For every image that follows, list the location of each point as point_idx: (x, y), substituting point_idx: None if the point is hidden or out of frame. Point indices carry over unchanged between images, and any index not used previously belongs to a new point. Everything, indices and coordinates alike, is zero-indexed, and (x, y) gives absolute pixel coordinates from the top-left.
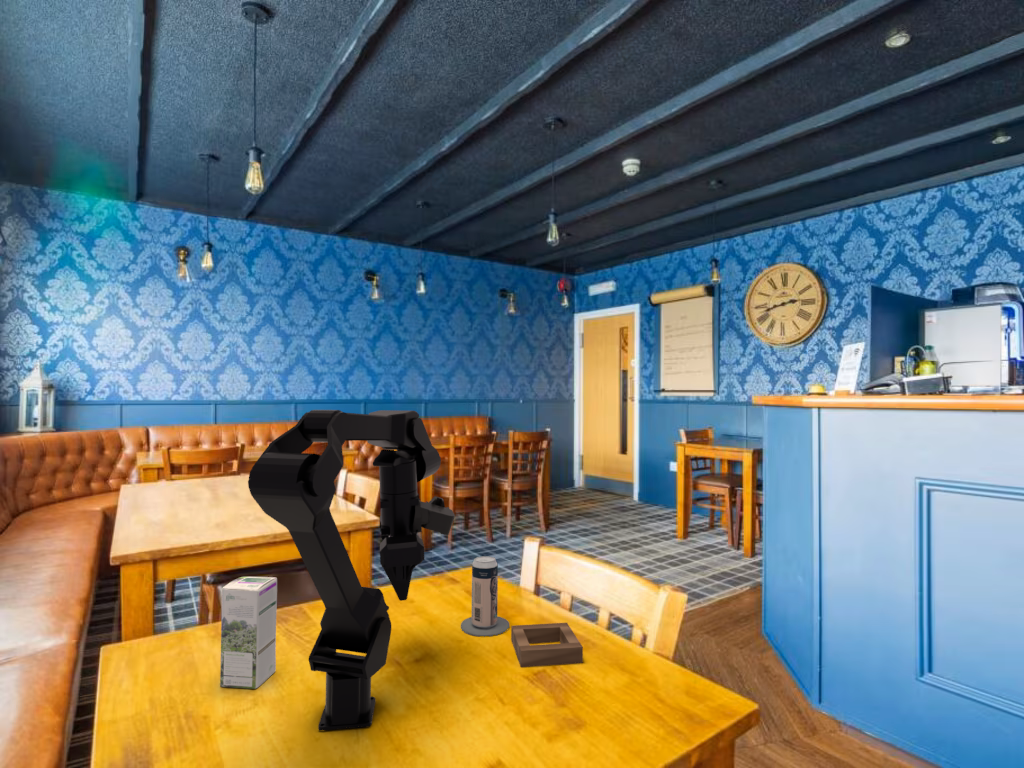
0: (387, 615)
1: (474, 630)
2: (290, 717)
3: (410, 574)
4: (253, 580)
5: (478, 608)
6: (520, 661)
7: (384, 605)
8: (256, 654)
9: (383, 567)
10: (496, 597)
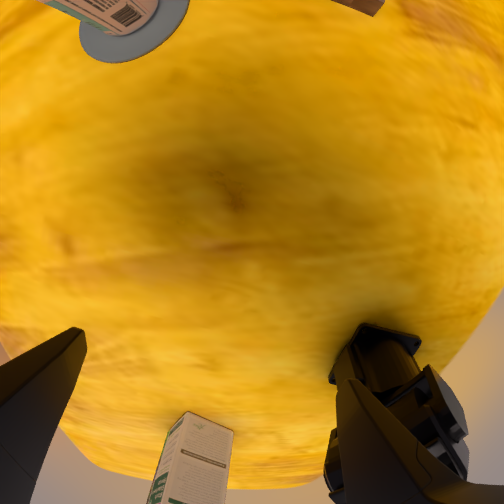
0: (443, 429)
1: (147, 35)
2: (329, 410)
3: (440, 467)
4: None
5: (123, 7)
6: (370, 10)
7: (451, 455)
8: (228, 468)
9: None
10: None
